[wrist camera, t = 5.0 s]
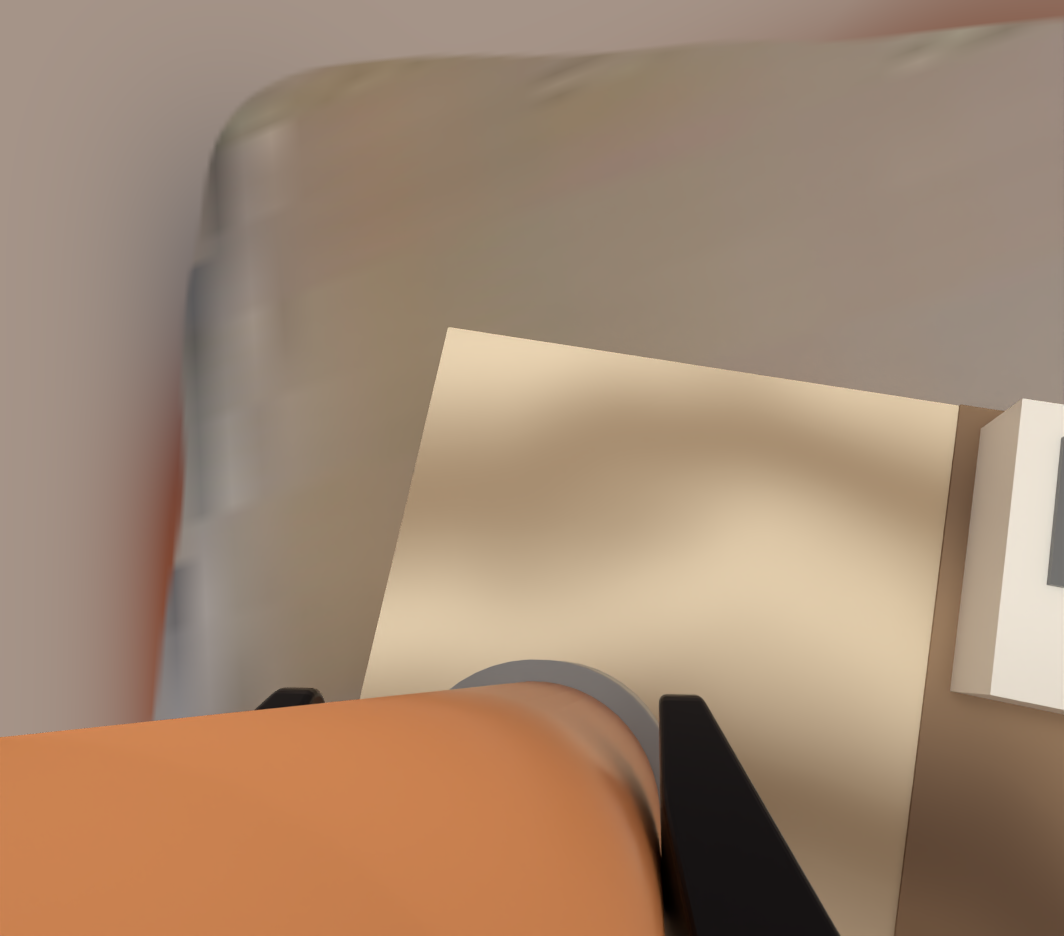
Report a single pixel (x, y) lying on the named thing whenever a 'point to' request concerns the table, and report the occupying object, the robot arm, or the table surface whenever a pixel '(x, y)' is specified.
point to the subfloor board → (742, 605)
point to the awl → (347, 817)
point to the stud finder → (1015, 563)
